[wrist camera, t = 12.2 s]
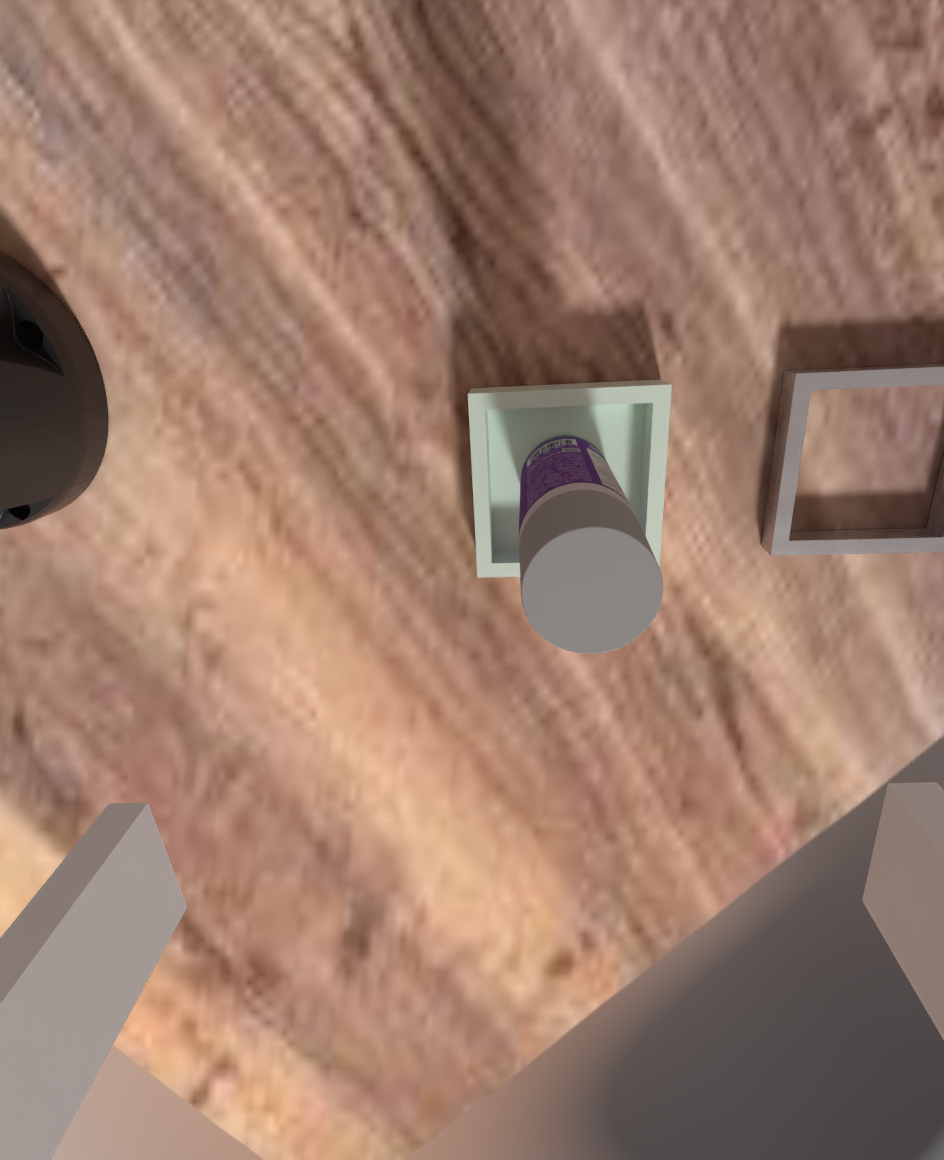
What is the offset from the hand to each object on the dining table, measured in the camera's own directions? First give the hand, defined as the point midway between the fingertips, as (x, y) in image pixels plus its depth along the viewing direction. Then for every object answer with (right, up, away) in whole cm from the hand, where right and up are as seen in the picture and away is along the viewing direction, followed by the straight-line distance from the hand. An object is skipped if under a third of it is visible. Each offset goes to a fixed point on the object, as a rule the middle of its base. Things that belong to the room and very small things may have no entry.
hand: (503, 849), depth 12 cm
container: (+4, +10, +22) cm, 25 cm away
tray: (+4, +11, +23) cm, 25 cm away
